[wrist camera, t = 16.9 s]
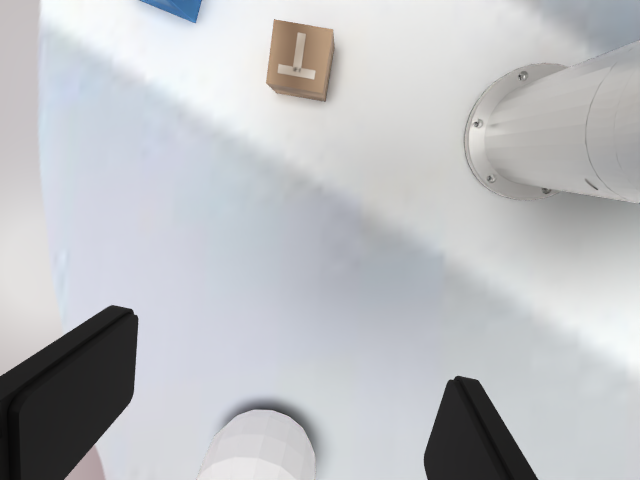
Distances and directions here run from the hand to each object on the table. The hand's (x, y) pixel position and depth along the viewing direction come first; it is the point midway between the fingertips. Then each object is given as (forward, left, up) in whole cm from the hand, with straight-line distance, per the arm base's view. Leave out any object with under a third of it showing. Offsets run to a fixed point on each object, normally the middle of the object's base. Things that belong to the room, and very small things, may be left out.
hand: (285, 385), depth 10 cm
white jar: (+2, +30, -28) cm, 41 cm away
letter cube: (+5, -14, -28) cm, 32 cm away
